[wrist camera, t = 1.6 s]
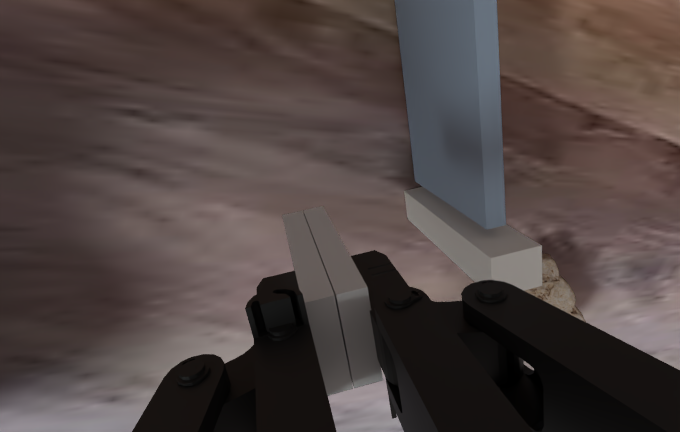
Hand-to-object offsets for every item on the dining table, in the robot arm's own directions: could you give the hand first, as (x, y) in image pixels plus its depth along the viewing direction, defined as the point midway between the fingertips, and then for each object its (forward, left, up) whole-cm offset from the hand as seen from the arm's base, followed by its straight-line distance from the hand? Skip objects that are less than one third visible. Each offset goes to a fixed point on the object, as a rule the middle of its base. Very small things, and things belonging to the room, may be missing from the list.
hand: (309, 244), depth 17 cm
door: (+11, +11, -18) cm, 24 cm away
